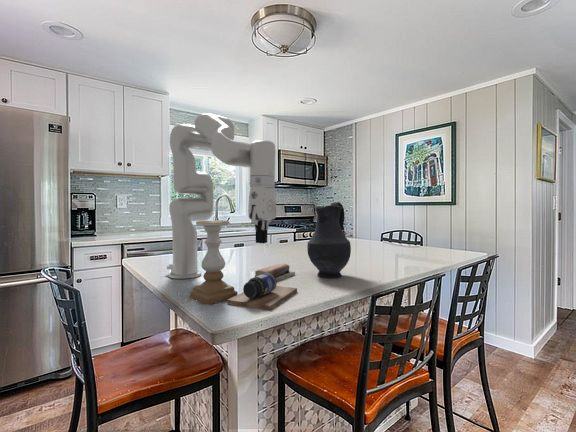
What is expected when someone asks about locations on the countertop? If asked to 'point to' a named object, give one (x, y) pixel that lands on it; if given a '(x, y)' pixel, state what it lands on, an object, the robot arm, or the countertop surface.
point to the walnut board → (264, 298)
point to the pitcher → (329, 242)
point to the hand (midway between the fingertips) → (261, 242)
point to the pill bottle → (260, 285)
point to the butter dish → (276, 271)
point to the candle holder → (213, 268)
